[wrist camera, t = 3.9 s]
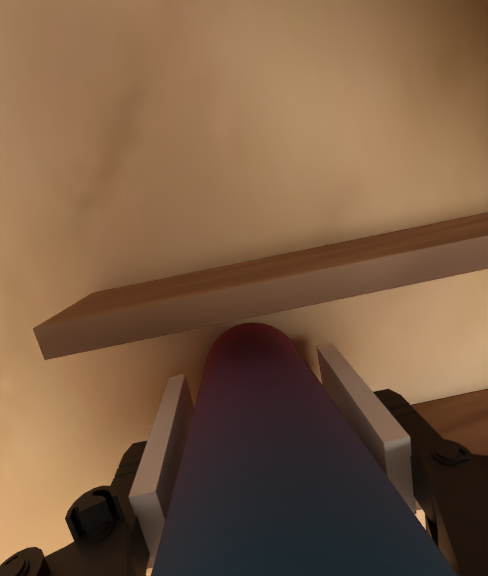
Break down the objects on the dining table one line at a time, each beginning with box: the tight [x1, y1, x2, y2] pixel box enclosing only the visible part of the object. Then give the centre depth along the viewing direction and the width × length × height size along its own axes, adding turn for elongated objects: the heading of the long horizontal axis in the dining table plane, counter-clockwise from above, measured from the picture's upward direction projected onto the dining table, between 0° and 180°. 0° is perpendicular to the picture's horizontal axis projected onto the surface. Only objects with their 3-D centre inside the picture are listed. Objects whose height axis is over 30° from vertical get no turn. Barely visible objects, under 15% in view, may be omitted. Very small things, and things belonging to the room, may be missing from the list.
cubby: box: [33, 213, 488, 569], centre depth 15 cm, size 11×31×5 cm, turn 101°
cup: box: [151, 323, 458, 576], centre depth 10 cm, size 7×7×15 cm
